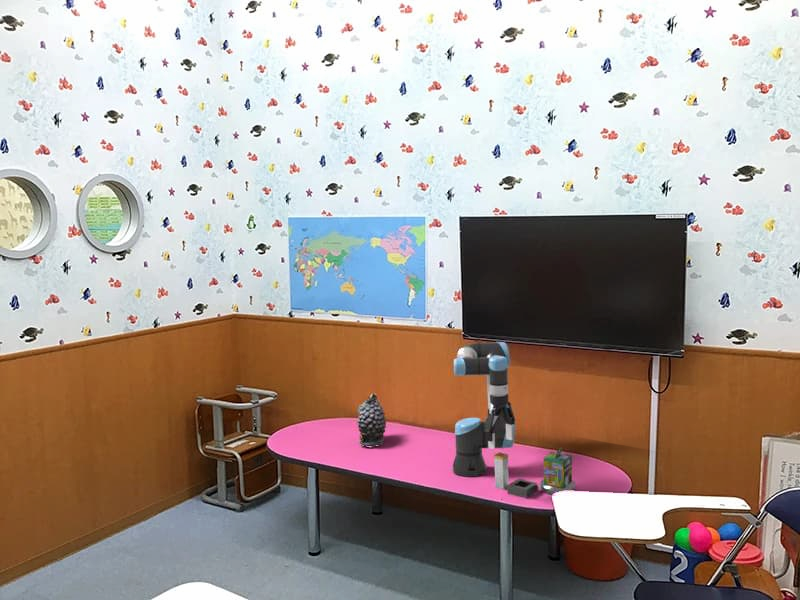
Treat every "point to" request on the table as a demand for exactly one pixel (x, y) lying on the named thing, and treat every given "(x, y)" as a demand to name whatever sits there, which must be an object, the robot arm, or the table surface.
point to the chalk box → (558, 469)
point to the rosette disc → (553, 489)
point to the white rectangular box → (501, 470)
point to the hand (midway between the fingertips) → (500, 444)
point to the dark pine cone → (371, 422)
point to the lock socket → (522, 488)
